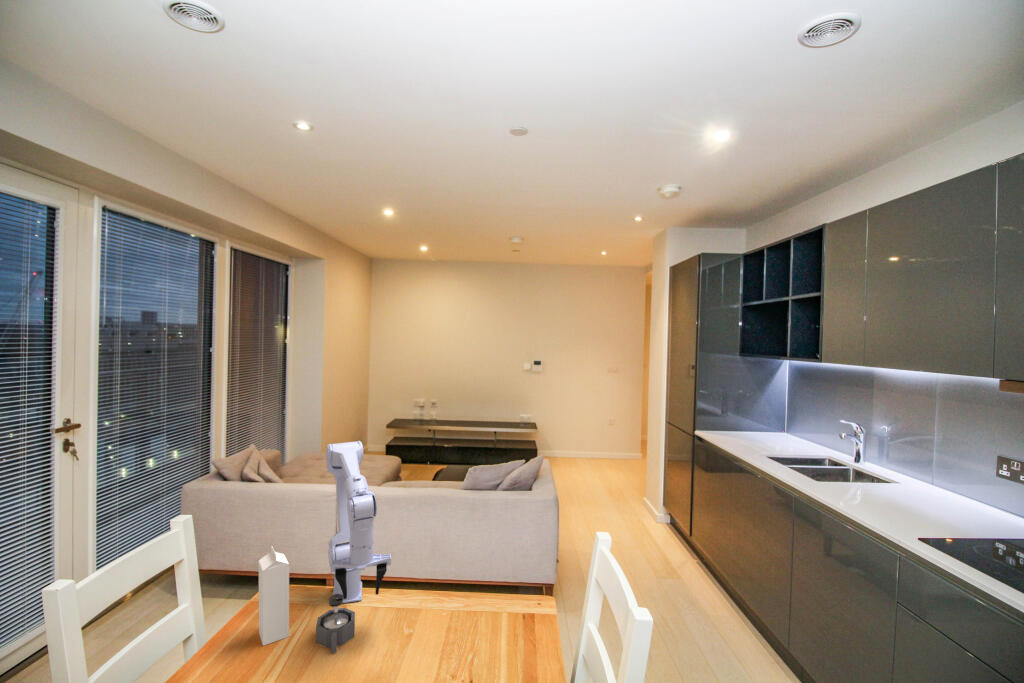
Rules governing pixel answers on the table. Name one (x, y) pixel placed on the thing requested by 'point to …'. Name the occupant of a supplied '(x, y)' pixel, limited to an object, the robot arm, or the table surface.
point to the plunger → (335, 614)
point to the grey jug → (335, 630)
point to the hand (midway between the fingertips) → (361, 594)
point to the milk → (273, 597)
